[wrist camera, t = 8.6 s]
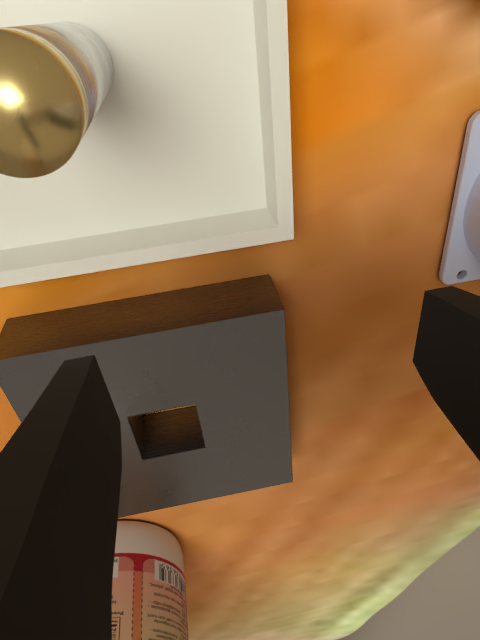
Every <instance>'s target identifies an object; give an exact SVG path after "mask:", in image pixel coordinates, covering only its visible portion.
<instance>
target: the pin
mask: <svg viewBox="0 0 480 640" xmlns="http://www.w3.org/2000/svg"><path fill="white" fill-rule="evenodd" d="M113 75H114V70H113V62H112V58H111V55H110V53H109V50H108V49H107V47H106V45H105V43H104V42H103V41H102V39H101V38H100V37H99V36H98V35H97V34H96V33H95V32H94V31H92V30H91V29H89V28H88V27H86V26H84V25H82V24H79V23H75V22H68V21H67V22H55V23H44V24H34V25H24V26H14V27H4V28H0V174H3V175H7V176H10V177H17V178H36V177H41V176H45V175H47V174H50V173H52V172H54V171H56V170H58V169H59V168H61V167H62V166H63V165H65V164H66V163H67V161H68V160H69V159H70V158H71V157H72V155H73V154H74V152H75V151H76V149H77V147H78V145H79V144H80V142H81V140H82V138H83V136H84V135H85V133H86V131H87V129H88V127H89V126H90V124H91V122H92V120H93V119H94V117H95V115H96V113H97V111H98V110H99V108H100V106H101V104H102V103H103V101H104V99H105V97H106V95H107V94H108V92H109V90H110V88H111V85H112V82H113Z"/></svg>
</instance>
